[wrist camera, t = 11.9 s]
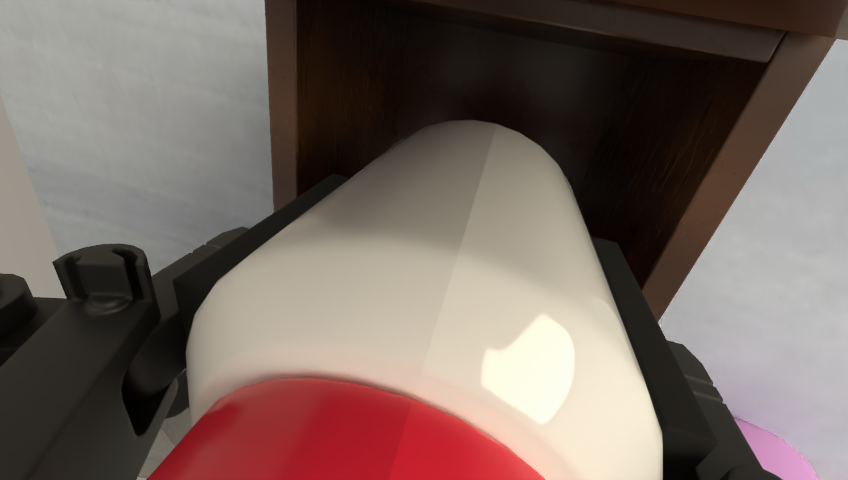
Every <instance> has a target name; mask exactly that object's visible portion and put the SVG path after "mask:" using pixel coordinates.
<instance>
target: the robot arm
mask: <svg viewBox="0 0 848 480" xmlns="http://www.w3.org/2000/svg"><path fill="white" fill-rule="evenodd" d="M349 179H350V177H345V176H341V175H337V174H332V175H330V176H329V177H327V178H326V179H324V180H323V181H321V182H320V183H318V184H317V185H315V186H314V187H312V188H311V189H309V190H308V191H306V192H305V193H303V194H302V195H300V196H299V197H297V198H296V199H294V200H293V201H291V202H290V203H288V204H287V205H285V206H284V207H282V208H281V209H279V210H278V211H276V212H275V213H273V214H272V215H270V216H269V217H267V218H266V219H264V220H263V221H261V222H260V223H258V224H256V225H255V226H253V227H252V228H250V229H249V228H245V227H240V228H237V229H233V230H230V231H227V232H224V233H221V234H220V235H218V236H216V237H215V238H213V239H212V240H210V241H208V242H207V243H206V245H202V246H200V247H199V248H197V249H195V250H194V251H193V253H189V254H187V255H186V256H184V257H182V258H181V259H179V260H177V261H176V262H174V263H173V264H171V265H169V266H168V267H166V268H164V269H163V270H161V271H160V272H158V273H156V274H155V275H153V276H151V273H150V269H149V265H148V261H147V257H146V255H145V253H144V251H143V250H141V249H139V248H137V247H135V246H132V245H125V244H101V245H96V246H91V247H85V248H82V249H79V250H76V251H73V252H70V253H67V254H65V255H63V256H62V257H60V258H59V259H57V260H55V261H53V265H54V267H55V270H56V272H57V275H58V277H59V280H60V282H61V285H62V287H63V290H64V292H65V295H66V297H67V299H63V298H40V297H33V296H32V294H31V291H30V289H29V287H28V285H27V283H26V281H25V279H24V278H22V277H19V276H16V275H14V274H0V480H136V479H137V477H138V475H139V473H140V471H141V468H142V466H143V464H144V462H145V460H146V458H147V456H148V454H149V452H150V449H151V447H152V445H153V443H154V441H155V439H156V437H157V435H158V432H159V430H160V428H161V426H162V424H163V422H164V420H165V418H166V415H167V413H168V411H169V409H170V407H171V405H172V403H173V401H174V398H175V396H176V394H177V389H178V382H177V378H176V377H177V376H178V375H179V374H180V373H181V372H182V371H183V370H184V369H185V368H186V344H187V340H188V336H189V333H190V329H191V325H192V322H193V318H194V315H195V313H196V312H197V310H198V309H199V307H200V306H201V304H202V303H203V301H204V300H205V298H206V297H207V295H208V294H209V292H210V291H211V290H212V288H213V287H214V285H215V284H216V282H217V281H218V280H219V279H220V278H221V277H223V276H224V275H225V274H226V273H227V272H229V271H230V270H231V269H232V268H234V267H235V266H236V265H237V264H239V263H240V262H241V261H243V260H244V259H245V258H246V257H248V256H249V255H250V254H251V253H253V252H254V251H255V250H256V249H258V248H259V247H260V246H262V245H263V244H264V243H266V242H267V241H268V240H270V239H271V238H272V237H274V236H275V235H276V234H277V233H279V232H280V231H281V230H283V229H284V228H285V227H287V226H288V225H289V224H291V223H292V222H293V221H295V220H296V219H297V218H299V217H300V216H301V215H303V214H304V213H305V212H306V211H308V210H309V209H310V208H312V207H313V206H314V205H316V204H317V203H318V202H320V201H321V200H322V199H324V198H325V197H326V196H328V195H329V194H330V193H332V192H333V191H334V190H335V189H337V188H338V187H339V186H341V185H342V184H343V183H345V182H346V181H347V180H349ZM591 240H592V243H593V246H594V248H595V251H596V254H597V256H598V259H599V262H600V264H601V267H602V269H603V272H604V275H605V277H606V280H607V283H608V285H609V288H610V291H611V293H612V296H613V298H614V301H615V304H616V306H617V309H618V312H619V314H620V317H621V320H622V322H623V325H624V327H625V330H626V333H627V335H628V338H629V341H630V343H631V346H632V349H633V351H634V354H635V356H636V359H637V362H638V364H639V367H640V370H641V372H642V375H643V378H644V380H645V383H646V386H647V389H648V392H649V395H650V398H651V401H652V404H653V407H654V410H655V413H656V416H657V419H658V422H659V425H660V428H661V431H662V442H663V480H783V479H781V478H780V477H778V476H777V475H775V474H773V473H771V472H769V471H766V470H764V469H763V468H762V466H761V464H760V463H759V461H758V459H757V457H756V456H755V454H754V452H753V451H752V449H751V447H750V445H749V444H748V442H747V440H746V439H745V437H744V435H743V433H742V432H741V430H740V428H739V427H738V425H737V423H736V421H735V420H734V418H733V416H732V414H731V413H730V411H729V409H728V408H727V406H726V404H723V403H722V401H723V399H722V397H721V396H720V394H719V392H718V390H717V389H716V387H713V382H712V380H711V378H710V377H709V375H708V373H707V372H706V370H705V368H704V366H703V365H702V363H701V362H700V361H699V360H698V359H697V358H696V357H695V356H694V355H693V354H692V353H691V352H690V351H689V350H688V349H687V348H686V347H685V346H684V345H682V344H679V343H675V342H671V341H667V340H666V338H665V336H664V334H663V332H662V330H661V328H660V327H659V325H658V323H657V321H656V319H655V317H654V315H653V313H652V311H651V309H650V307H649V305H648V303H647V301H646V299H645V297H644V295H643V293H642V291H641V289H640V287H639V285H638V283H637V281H636V279H635V277H634V275H633V273H632V271H631V269H630V267H629V265H628V264H627V262H626V260H625V258H624V256H623V254H622V252H621V250H620V248H619V246H618V244H617V242H612V241H608V240H604V239H600V238H596V237H592V236H591Z"/></svg>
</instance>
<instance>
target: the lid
mask: <svg viewBox="0 0 848 480" xmlns="http://www.w3.org/2000/svg"><path fill="white" fill-rule="evenodd" d="M607 1H613V2H619V3H625V4H631V5H637V6H643V7H649V8H655V9H661V10H667V11H673V12H679V13H685V14H691V15H697V16H703V17H709V18H715V19H721V20H727V21H733V22H739V23H745V24H751V25H757V26H763V27H769V28H775V29H782V30H788V31H794V32H800V33H806V34H812V35H818V36H824V37H830V38H836V39H842V40H848V0H607Z"/></svg>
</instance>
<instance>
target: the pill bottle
mask: <svg viewBox="0 0 848 480" xmlns="http://www.w3.org/2000/svg"><path fill="white" fill-rule="evenodd" d="M186 377H187V392H188V404H189V416H190V430H189V431H188V433H187V434H186V435H185V436H184V437H183V438H182V439H181V441H180V442H179V443H178V444H177V445H176V446H175V447H174V448H173V450H172V451H171V452H170V453H169V454H168V455H167V456H166V458H165V459H164V460H163V461H162V462H161V463H160V464H159V466H158V467H157V468H156V469H155V470H154V471H153V472H152V474H151V475H150V476H149V477H148V478H147V479H146V480H663V442H662V431H661V428H660V425H659V422H658V419H657V416H656V413H655V410H654V407H653V404H652V401H651V398H650V395H649V392H648V389H647V386H646V383H645V380H644V378H643V375H642V372H641V370H640V367H639V364H638V362H637V359H636V356H635V354H634V351H633V349H632V346H631V343H630V341H629V338H628V335H627V333H626V330H625V327H624V325H623V322H622V320H621V317H620V314H619V312H618V309H617V306H616V304H615V301H614V298H613V296H612V293H611V291H610V288H609V285H608V283H607V280H606V277H605V275H604V272H603V269H602V267H601V264H600V262H599V259H598V256H597V254H596V251H595V248H594V246H593V243H592V240H591V238H590V235H589V233H588V230H587V227H586V225H585V222H584V219H583V217H582V214H581V212H580V209H579V206H578V204H577V201H576V198H575V196H574V193H573V190H572V188H571V185H570V183H569V181H568V180H567V178H566V177H565V175H564V173H563V172H562V170H561V169H560V167H559V165H558V164H557V163H556V162H555V161H554V160H553V159H552V158H551V157H550V156H549V154H548V153H547V152H546V151H545V150H544V149H543V148H542V147H541V146H539V145H538V144H536V143H535V142H533V141H532V140H530V139H528V138H527V137H525V136H524V135H522V134H521V133H519V132H516V131H514V130H511V129H509V128H506V127H504V126H501V125H498V124H494V123H488V122H482V121H477V120H455V121H446V122H442V123H438V124H434V125H429V126H426V127H424V128H422V129H420V130H418V131H416V132H413V133H411V134H409V135H407V136H405V137H404V138H403V139H401V140H400V141H399V142H397V143H396V144H395V145H393V146H392V147H391V148H390V149H388V150H387V151H386V152H384V153H383V154H382V155H380V156H379V157H378V158H376V159H375V160H374V161H372V162H371V163H370V164H368V165H367V166H366V167H364V168H363V169H362V170H361V171H359V172H358V173H357V174H355V175H354V176H353V177H351V178H350V179H349V180H347V181H346V182H345V183H343V184H342V185H341V186H339V187H338V188H337V189H335V190H334V191H333V192H332V193H330V194H329V195H328V196H326V197H325V198H324V199H322V200H321V201H320V202H318V203H317V204H316V205H314V206H313V207H312V208H310V209H309V210H308V211H306V212H305V213H304V214H303V215H301V216H300V217H299V218H297V219H296V220H295V221H293V222H292V223H291V224H289V225H288V226H287V227H285V228H284V229H283V230H281V231H280V232H279V233H277V234H276V235H275V236H274V237H272V238H271V239H270V240H268V241H267V242H266V243H264V244H263V245H262V246H260V247H259V248H258V249H256V250H255V251H254V252H253V253H251V254H250V255H249V256H248V257H246V258H245V259H244V260H243V261H241V262H240V263H239V264H237V265H236V266H235V267H234V268H232V269H231V270H230V271H229V272H227V273H226V274H225V275H224V276H223V277H221V278H220V279H219V280H218V281H217V282H216V284H215V285H214V287H213V288H212V290H211V291H210V292H209V294H208V295H207V297H206V298H205V300H204V301H203V303H202V304H201V306H200V307H199V309H198V310H197V312H196V313H195V315H194V318H193V322H192V325H191V329H190V333H189V336H188V340H187V344H186Z"/></svg>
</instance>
